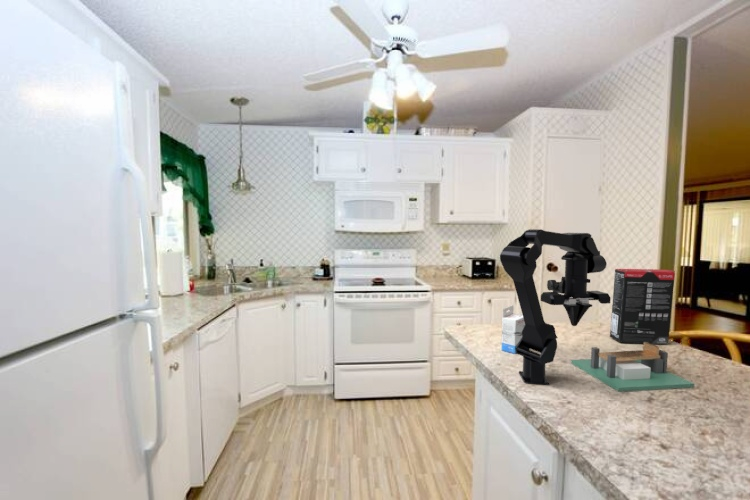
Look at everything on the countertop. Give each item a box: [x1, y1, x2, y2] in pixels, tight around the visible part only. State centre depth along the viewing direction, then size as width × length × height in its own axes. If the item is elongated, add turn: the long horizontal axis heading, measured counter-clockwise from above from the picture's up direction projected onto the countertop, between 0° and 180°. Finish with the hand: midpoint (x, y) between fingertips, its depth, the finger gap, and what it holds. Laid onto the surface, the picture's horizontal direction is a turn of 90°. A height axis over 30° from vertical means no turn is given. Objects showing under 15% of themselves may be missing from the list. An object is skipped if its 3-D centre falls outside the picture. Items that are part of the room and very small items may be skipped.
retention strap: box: [598, 342, 661, 361], centre depth 96 cm, size 16×4×4 cm, turn 96°
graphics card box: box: [609, 268, 676, 346], centre depth 122 cm, size 17×7×27 cm, turn 84°
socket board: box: [570, 346, 695, 392], centre depth 96 cm, size 22×18×7 cm
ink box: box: [501, 305, 525, 355], centre depth 116 cm, size 8×5×15 cm, turn 134°
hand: (573, 325), depth 100 cm, fingers closed
